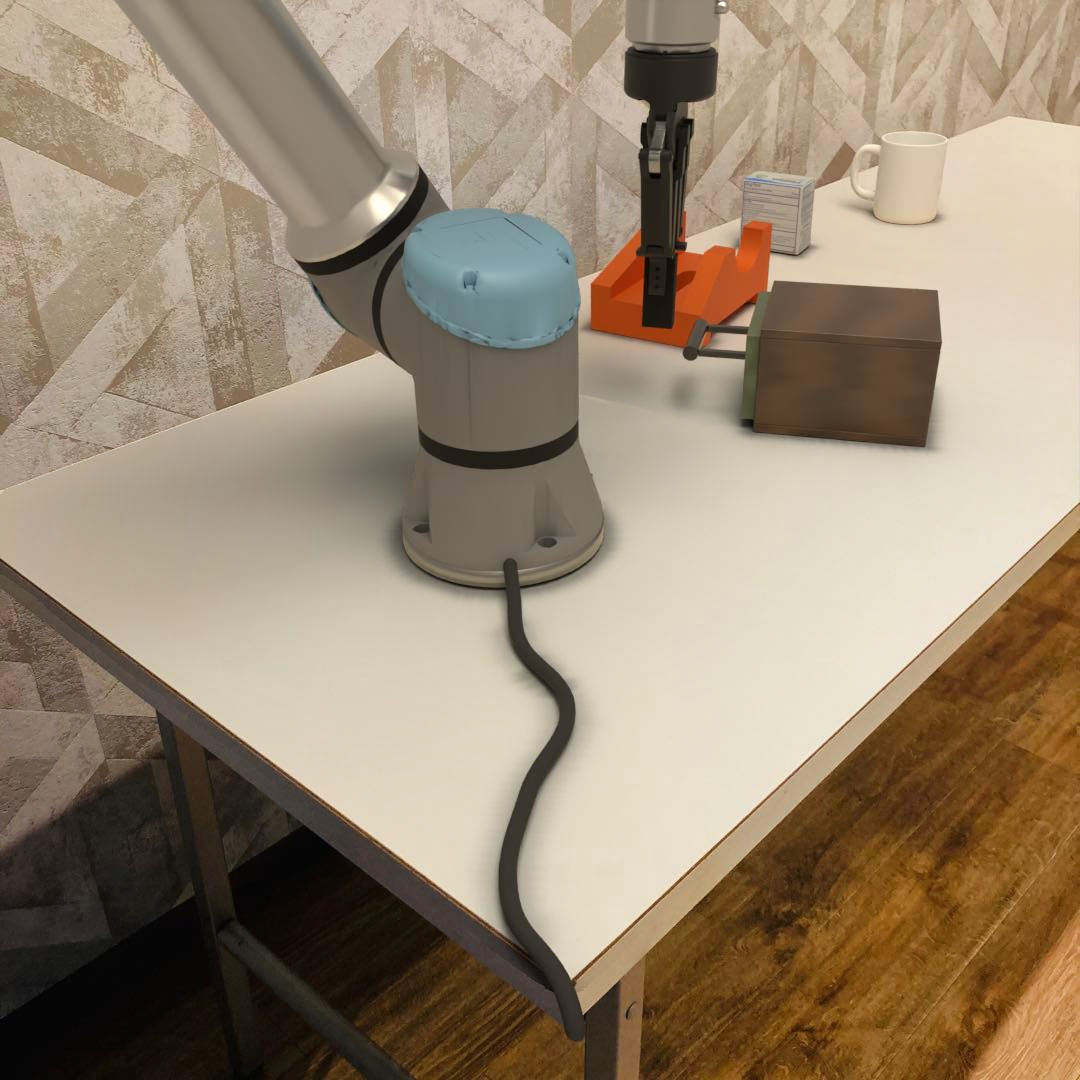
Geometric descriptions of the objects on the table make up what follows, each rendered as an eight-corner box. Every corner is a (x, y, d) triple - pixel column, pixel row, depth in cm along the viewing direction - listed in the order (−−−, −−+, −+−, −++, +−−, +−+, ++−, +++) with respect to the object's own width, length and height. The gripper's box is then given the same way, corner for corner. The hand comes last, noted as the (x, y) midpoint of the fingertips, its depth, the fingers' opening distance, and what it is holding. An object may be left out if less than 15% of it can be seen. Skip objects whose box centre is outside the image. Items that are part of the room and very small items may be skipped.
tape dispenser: (665, 279, 140) (667, 208, 136) (766, 296, 134) (772, 223, 130) (590, 328, 127) (590, 252, 123) (699, 350, 121) (703, 270, 117)
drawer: (676, 413, 107) (679, 330, 103) (694, 364, 116) (698, 286, 112) (898, 432, 102) (911, 346, 98) (898, 379, 112) (910, 300, 108)
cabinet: (753, 431, 105) (760, 328, 100) (766, 375, 116) (773, 280, 111) (925, 447, 102) (942, 341, 97) (922, 388, 112) (938, 289, 107)
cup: (928, 228, 155) (939, 148, 150) (837, 217, 160) (845, 139, 155) (942, 211, 161) (954, 134, 156) (854, 202, 166) (863, 126, 161)
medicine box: (810, 246, 149) (817, 176, 145) (797, 256, 146) (803, 185, 142) (752, 238, 153) (757, 169, 149) (737, 247, 150) (742, 177, 145)
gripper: (707, 59, 89) (688, 354, 101) (728, 35, 100) (709, 305, 112) (609, 55, 91) (602, 346, 103) (640, 32, 102) (630, 298, 114)
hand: (657, 324), depth 108 cm, fingers closed
